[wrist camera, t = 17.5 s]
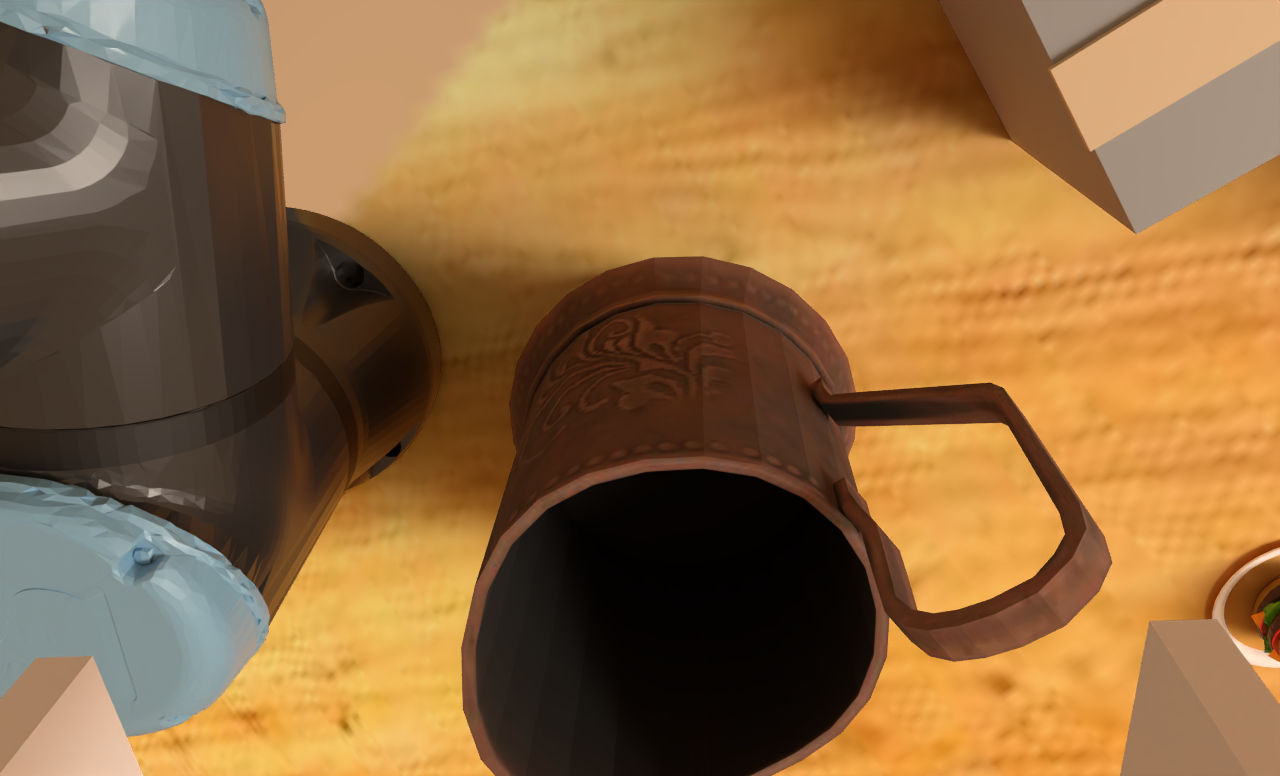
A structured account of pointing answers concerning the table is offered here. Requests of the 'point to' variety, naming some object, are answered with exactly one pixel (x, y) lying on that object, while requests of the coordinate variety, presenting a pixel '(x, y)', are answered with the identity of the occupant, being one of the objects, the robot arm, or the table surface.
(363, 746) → the table surface
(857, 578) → the brown pitcher
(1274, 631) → the hamburger
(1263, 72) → the carton
